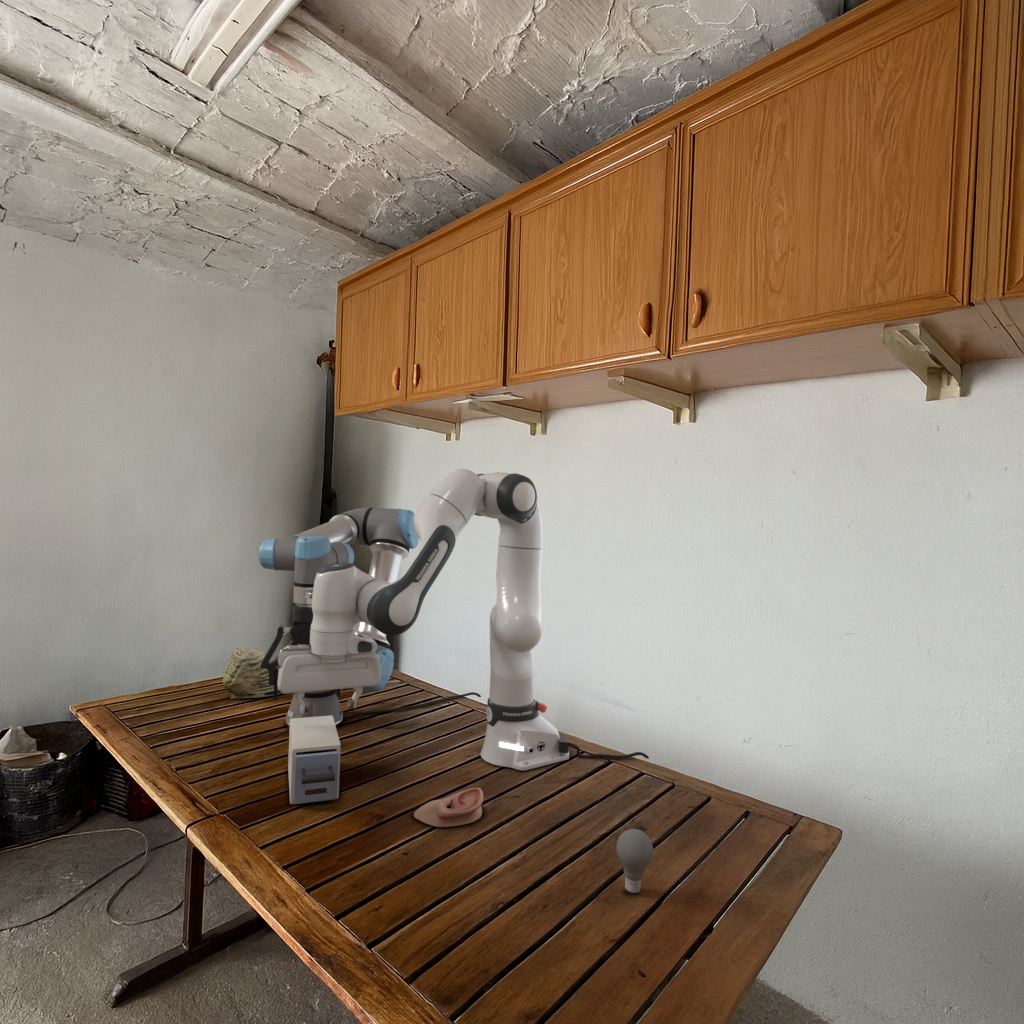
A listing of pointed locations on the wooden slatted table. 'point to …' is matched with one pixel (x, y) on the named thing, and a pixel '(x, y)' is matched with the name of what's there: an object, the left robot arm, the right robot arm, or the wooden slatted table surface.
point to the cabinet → (311, 742)
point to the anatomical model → (452, 809)
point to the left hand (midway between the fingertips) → (307, 697)
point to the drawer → (315, 776)
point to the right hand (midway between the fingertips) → (328, 710)
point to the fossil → (247, 674)
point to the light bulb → (634, 857)
